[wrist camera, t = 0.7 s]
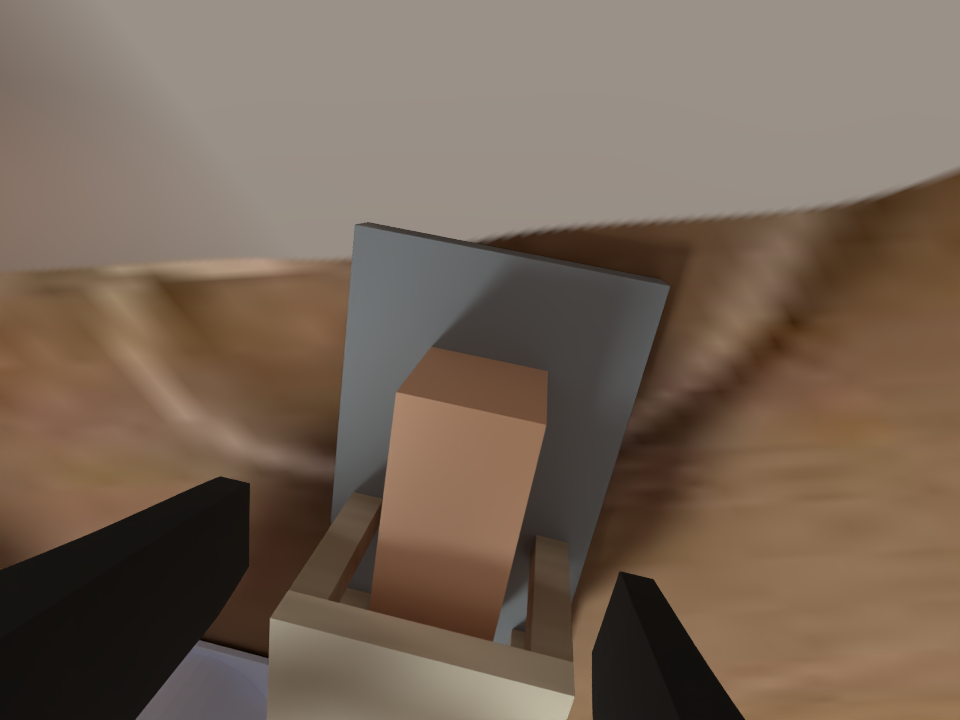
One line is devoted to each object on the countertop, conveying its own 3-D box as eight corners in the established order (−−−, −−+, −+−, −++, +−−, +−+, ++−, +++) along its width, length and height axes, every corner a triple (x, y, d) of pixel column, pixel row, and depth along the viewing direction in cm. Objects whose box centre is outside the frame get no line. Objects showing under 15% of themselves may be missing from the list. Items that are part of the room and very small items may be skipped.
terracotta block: (489, 617, 20) (474, 714, 16) (395, 594, 20) (359, 684, 17) (547, 371, 16) (546, 425, 13) (431, 346, 17) (396, 391, 13)
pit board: (530, 714, 23) (528, 741, 22) (328, 661, 24) (317, 685, 23) (662, 279, 16) (670, 286, 15) (367, 222, 17) (354, 224, 16)
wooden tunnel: (534, 657, 21) (527, 833, 15) (341, 608, 21) (265, 759, 16) (568, 542, 18) (574, 696, 13) (353, 491, 19) (269, 617, 13)
